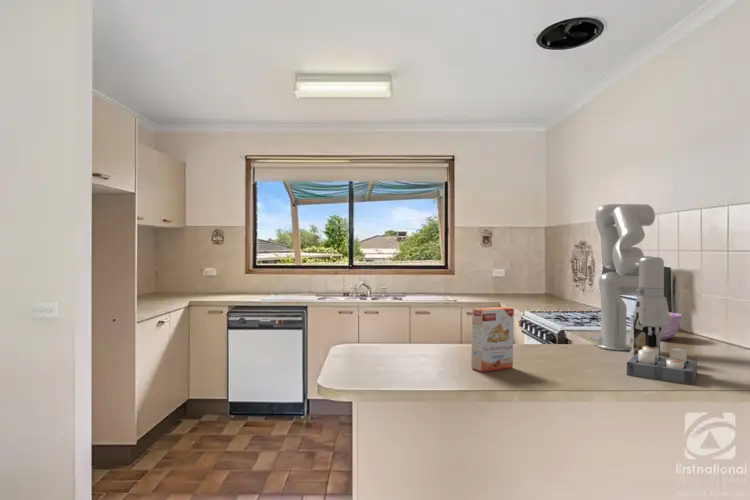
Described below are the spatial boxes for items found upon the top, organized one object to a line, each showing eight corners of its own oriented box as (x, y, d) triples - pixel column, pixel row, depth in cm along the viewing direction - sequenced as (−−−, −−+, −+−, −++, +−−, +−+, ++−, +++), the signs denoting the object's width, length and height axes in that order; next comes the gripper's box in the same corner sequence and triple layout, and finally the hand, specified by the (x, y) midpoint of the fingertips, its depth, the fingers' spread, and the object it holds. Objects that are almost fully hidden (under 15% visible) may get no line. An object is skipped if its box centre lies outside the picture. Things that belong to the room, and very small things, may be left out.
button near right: (665, 376, 154) (665, 360, 154) (667, 373, 158) (667, 357, 158) (683, 379, 151) (683, 362, 151) (684, 376, 155) (684, 359, 155)
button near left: (637, 366, 159) (637, 350, 159) (639, 364, 163) (639, 348, 163) (653, 369, 156) (653, 352, 156) (656, 366, 160) (656, 350, 160)
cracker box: (482, 373, 160) (482, 310, 160) (470, 368, 165) (471, 307, 165) (514, 368, 166) (514, 307, 166) (502, 364, 172) (502, 305, 172)
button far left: (641, 362, 165) (641, 347, 165) (643, 359, 169) (643, 344, 169) (657, 364, 162) (657, 348, 162) (659, 362, 166) (659, 346, 166)
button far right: (668, 366, 160) (668, 350, 160) (670, 363, 164) (670, 347, 164) (685, 368, 157) (685, 352, 157) (687, 365, 161) (687, 349, 161)
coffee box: (632, 360, 179) (633, 317, 179) (629, 356, 185) (630, 315, 185) (660, 362, 176) (661, 318, 176) (656, 358, 182) (657, 316, 182)
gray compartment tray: (626, 374, 158) (626, 362, 158) (636, 364, 173) (636, 353, 173) (692, 384, 147) (692, 371, 147) (696, 372, 162) (697, 360, 162)
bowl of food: (641, 341, 216) (641, 315, 216) (626, 333, 236) (626, 310, 236) (690, 343, 213) (690, 317, 213) (670, 335, 233) (670, 311, 233)
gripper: (638, 293, 161) (638, 349, 161) (679, 293, 163) (678, 348, 163) (623, 292, 168) (623, 344, 168) (663, 291, 170) (662, 344, 170)
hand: (650, 346), depth 165 cm, fingers closed
